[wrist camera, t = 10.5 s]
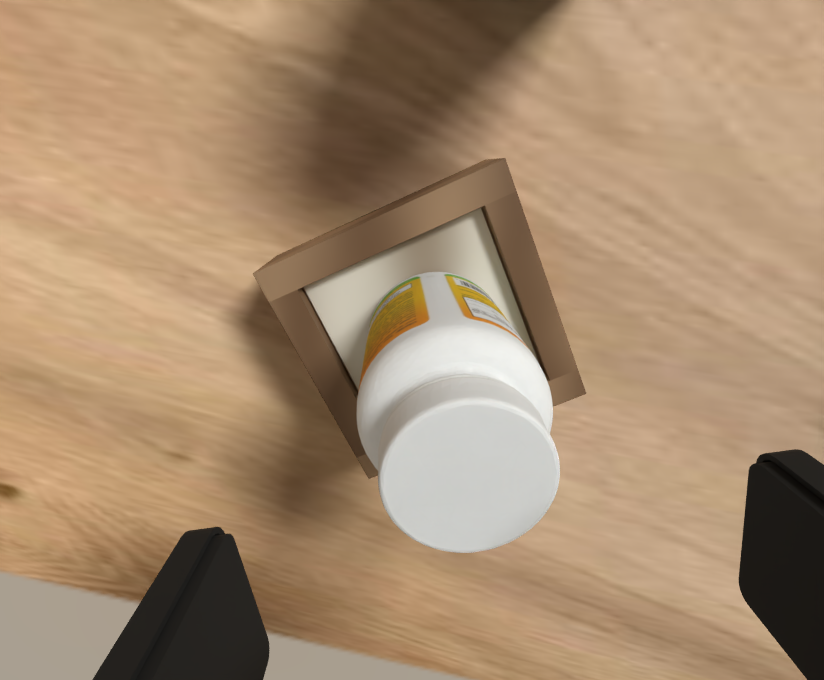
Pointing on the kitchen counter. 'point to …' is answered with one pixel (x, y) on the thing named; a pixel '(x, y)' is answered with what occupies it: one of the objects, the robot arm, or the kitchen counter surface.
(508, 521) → the supplement bottle
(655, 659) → the kitchen counter surface
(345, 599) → the kitchen counter surface
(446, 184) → the picture frame
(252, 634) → the robot arm
